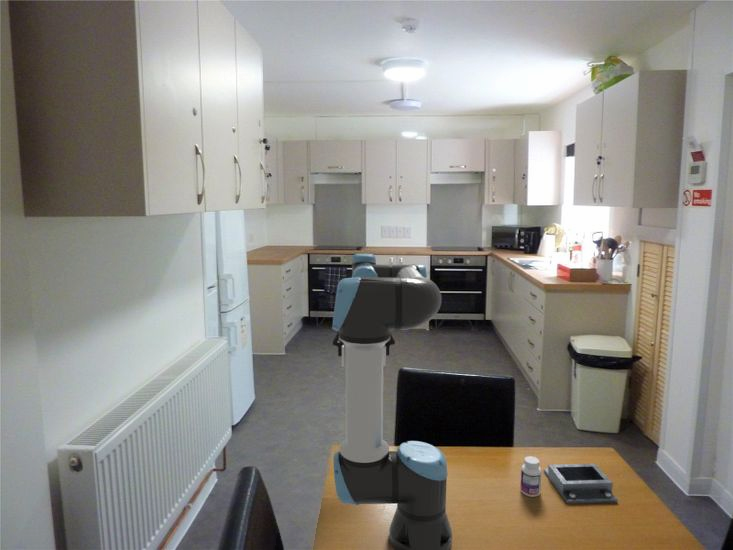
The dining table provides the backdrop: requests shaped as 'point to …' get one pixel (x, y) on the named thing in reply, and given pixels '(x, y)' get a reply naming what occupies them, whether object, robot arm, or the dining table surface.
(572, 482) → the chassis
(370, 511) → the dining table surface
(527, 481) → the pill bottle
